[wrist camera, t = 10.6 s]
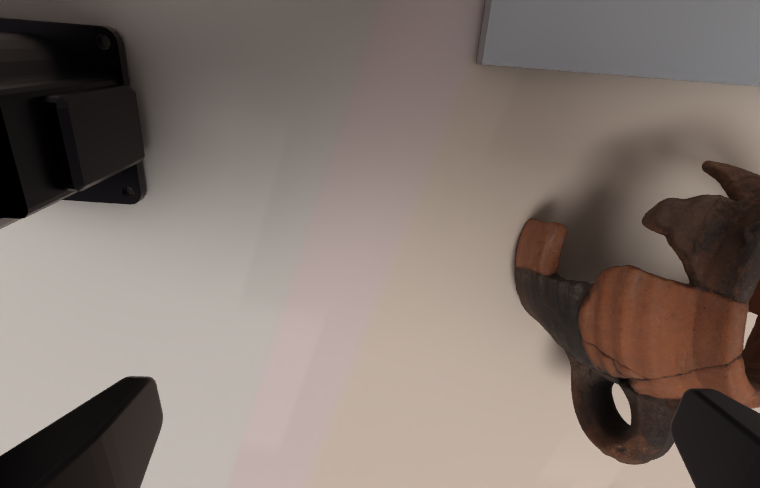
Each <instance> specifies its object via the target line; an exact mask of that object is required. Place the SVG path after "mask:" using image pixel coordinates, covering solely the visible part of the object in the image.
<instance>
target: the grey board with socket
mask: <svg viewBox="0 0 760 488" xmlns="http://www.w3.org/2000/svg"><path fill="white" fill-rule="evenodd" d="M476 63H477V64H482V65H495V66H508V67H520V68H533V69H545V70H558V71H571V72H583V73H596V74H609V75H621V76H634V77H647V78H659V79H672V80H685V81H697V82H710V83H722V84H735V85H748V86H760V0H486V2H485V8H484V15H483V22H482V28H481V35H480V42H479V48H478V55H477V61H476Z"/></svg>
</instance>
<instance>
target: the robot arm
mask: <svg viewBox="0 0 760 488" xmlns="http://www.w3.org/2000/svg"><path fill="white" fill-rule="evenodd" d="M104 35H106V36H107V37H108V38H109V40H110V42H111V44H110V47H109V49H107V48H106V47H105V46H104V45H103V43H102V37H103V36H104ZM144 156H145V154H144V147H143V141H142V134H141V127H140V120H139V113H138V107H137V100H136V94H135V92H134V91H133V89H132V88H131V87H130V82H129V76H128V69H127V63H126V56H125V49H124V43H123V40H122V37H121V36H120V34H119V33H118V32H117V31H116V30H114V29H113V28H110V27H107V26H94V25H82V24H69V23H57V22H44V21H31V20H19V19H6V18H0V229H1V228H3V227H5V226H7V225H9V224H11V223H14V222H16V221H18V220H20V219H22V218H25V217H28V216H30V215H32V214H34V213H36V212H38V211H40V210H42V209H44V208H46V207H48V206H50V205H52V204H54V203H56V202H58V201H60V200H73V201H88V202H103V203H118V204H135V203H137V202H139V201H140V200H142V199H143V198H144V196H145V195H146V189H145V182H144V175H143V169H142V162H141V160H142V159H143V158H144ZM127 186H128V187H131V188H132V189H133V190H134V192H135V196H134V195H131V194H130V193H129V192H128V190H127ZM162 421H163V413H162V408H161V403H160V399H159V394H158V390H157V385H156V382H155V380H154V379H153V378H151V377H143V376H130V377H125V378H123V379H122V380H120V381H118V382H117V383H115V384H114V385H112V386H110V387H109V388H107V389H106V390H104V391H103V392H101V393H99V394H98V395H96V396H95V397H93V398H91V399H90V400H88V401H87V402H85V403H84V404H82V405H80V406H79V407H77V408H76V409H74V410H72V411H71V412H69V413H68V414H66V415H65V416H63V417H61V418H60V419H58V420H57V421H55V422H53V423H52V424H50V425H49V426H47V427H46V428H44V429H42V430H41V431H39V432H38V433H36V434H34V435H33V436H31V437H30V438H28V439H27V440H25V441H23V442H22V443H20V444H19V445H17V446H15V447H14V448H12V449H11V450H9V451H8V452H6V453H4V454H3V455H1V456H0V488H140V486H141V484H142V481H143V478H144V475H145V472H146V469H147V467H148V464H149V461H150V458H151V455H152V453H153V450H154V447H155V444H156V441H157V439H158V436H159V433H160V430H161V427H162ZM671 434H672V437H673V440H674V442H675V444H676V446H677V449H678V451H679V453H680V455H681V457H682V459H683V461H684V464H685V466H686V468H687V470H688V472H689V474H690V476H691V479H692V481H693V483H694V485H695V487H696V488H760V413H758V412H756V411H754V410H752V409H750V408H749V407H747V406H745V405H743V404H741V403H739V402H738V401H736V400H734V399H732V398H730V397H728V396H727V395H725V394H723V393H721V392H719V391H717V390H714V389H706V388H691V389H688V390H687V391H685V392H684V394H683V396H682V398H681V400H680V403H679V405H678V407H677V410H676V412H675V415H674V417H673V419H672V422H671Z"/></svg>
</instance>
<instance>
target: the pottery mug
mask: <svg viewBox="0 0 760 488" xmlns="http://www.w3.org/2000/svg"><path fill="white" fill-rule="evenodd" d="M702 169H703V171H704V172H706V173H708V174H709V175H710V176H712V177H713V178H714V179H716V180H717V181H718V182H719V183H720V185H721V186H722V188H723V189H724V191H725V192H726V194H727V195H728V197H729V198H730V199H729V198H727V197H724V196H721V195H701V196H696V197H692V198H688V199H678V198H667V199H665V200H662V201H661V202H659V203H658V204H656V205H655V206H654V207H653V208H652V209H650V210H649V211H648V212H647V213H646V214H645V216H644V217H643V219H642V224H643V225H644V226H645V227H646V228H648V229H650V230H652V231H654V232H656V233H659V234H662V235H664V236H665V237H666V239H667V242H668V244H669V245H670V246H671V247H672V248H673V250H674V251H675V253H676V254H677V256H678V257H679V259H680V260H681V261H682V263H683V266H684V269H685V272H686V274H687V276H688V278H689V281H690V283H689V284H684V283H680V282H677V281H674V280H669V279H665V278H662V277H659V276H657V275H654V274H651V273H648V272H645V271H643V270H641V269H639V268H637V267H635V266H631V265H625V266H622V267H621V266H617V267H611V268H609V269H606V270H604V271H603V272H602V273H601V274H600V275H599V276H598V277H597V278H596V280H595V282H594V283H593V284H590V283H588V282H583V281H581V282H579V281H573V280H565V279H564V278H562V277H561V276H559V275H558V268H559V258H560V256H561V250H562V247H563V243H564V240H565V237H566V235H567V228H566V227H565V226H564V225H562V224H559V223H555V222H547V223H545V222H542V221H539V220H533V219H530V220H528V221H527V222H526V224H525V226H524V229H523V231H522V233H521V235H520V239H519V244H518V247H517V254H516V268H515V280H516V290H517V293H518V295H519V298H520V300H521V303H522V305H523V307H524V308H525V310H526V311H527V312H528V313H529V314H530V315H531V316H532V317H533V318H534V319H535V320H537V321H538V322H539V323H540V324H541V325H542V326H543V327H544V328H545V330H546V331H547V332H548V333H549V334H550V335H551V336H552V337H553V339H554V340H555V341H556V342H557V344H559V345H560V346H561V347H563V348H564V350H565V351H566V354H567V355H568V358H569V360H570V364H571V391H572V399H573V404H574V409H575V413H576V415H577V418H578V421H579V423H580V425H581V428H582V429H583V431H584V433H585V434H586V435H587V437H588V438H589V439H590V441H591V442H592V443H593V444H594V445H595V446H596V447H597V448H599V449H600V450H601V451H602V453H604V454H605V455H608V456H611V457H613V458H615V459H616V460H617V461H619V462H622V463H626V464H633V465H635V464H644V463H647V462H649V461H651V460H654V459H657V458H659V457H661V456H663V455H664V454H665V453H666V452H668V450H669V449H670V448H671V447H672V445H673V443H674V440H673V437H672V434H671V422H672V419H673V417H674V415H675V412H676V410H677V407H678V405H679V403H680V400H681V398H682V396H683V394H684V392H685V391H687V390H688V389H691V388H706V389H714V390H717V391H719V392H721V393H723V394H725V395H727V396H728V397H730V398H732V399H734V400H736V401H738V402H739V403H741V404H743V405H745V406H747V407H749V408H750V409H751V408H757V407H760V175H758V174H754V173H752V172H749V171H746V170H744V169H741V168H737V167H734V166H732V165H729V164H724V163H719V162H713V161H705V162H704V163H703V164H702ZM748 311H749V312H752V313H754V314H757V315H758V317H757V319H756V322H755V326H754V327H753V329H752V331H751V333H750V335H749V337H748V339H747V343H746V345H745V349H744V350H743V343H744V333H745V325H746V318H747V313H748ZM614 383H616V384H619V385H620V387H621V388H622V390H623V391H624V393H625V395H626V397H627V399H628V401H629V404H630V409H631V426H630V425H629V424H627V423H626V422H625V421H624V420H623V418H622V417H621V416H620V414H619V413H618V411H617V409H616V406H615V403H614V400H613V397H612V386H613V384H614Z"/></svg>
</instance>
